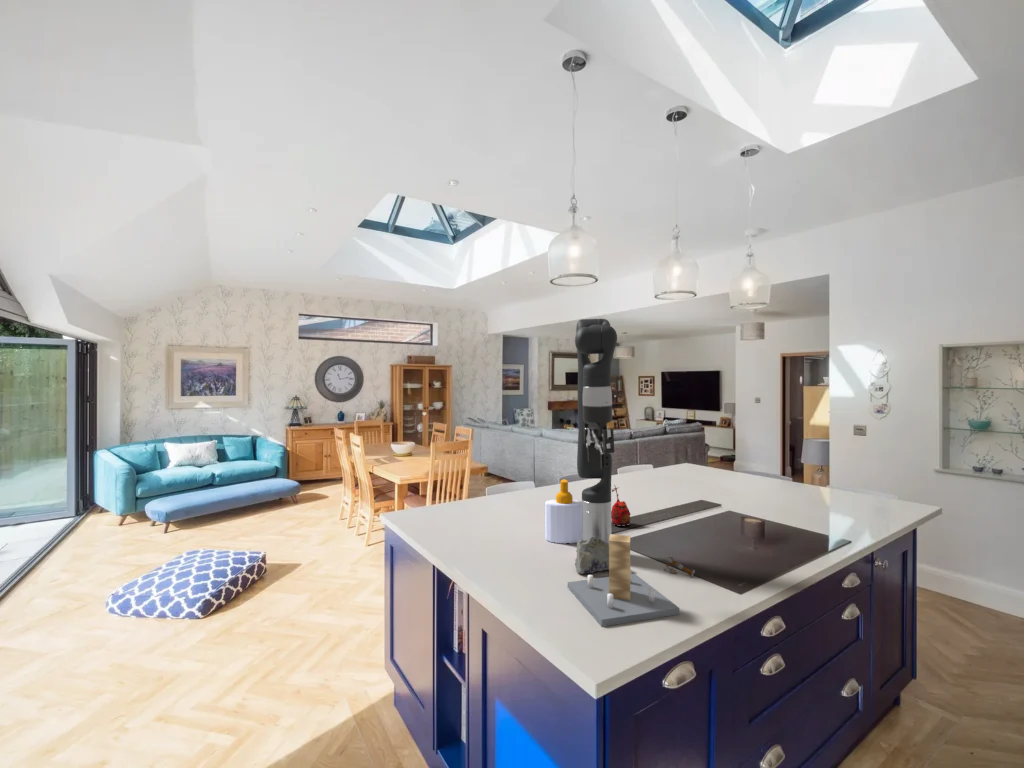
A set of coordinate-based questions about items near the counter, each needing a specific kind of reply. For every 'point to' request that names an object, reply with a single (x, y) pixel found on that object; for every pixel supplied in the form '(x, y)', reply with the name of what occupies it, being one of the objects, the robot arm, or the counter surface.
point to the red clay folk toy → (620, 512)
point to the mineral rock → (592, 555)
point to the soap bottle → (563, 517)
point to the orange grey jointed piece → (678, 567)
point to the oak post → (619, 566)
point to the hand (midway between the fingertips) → (598, 465)
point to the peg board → (621, 601)
